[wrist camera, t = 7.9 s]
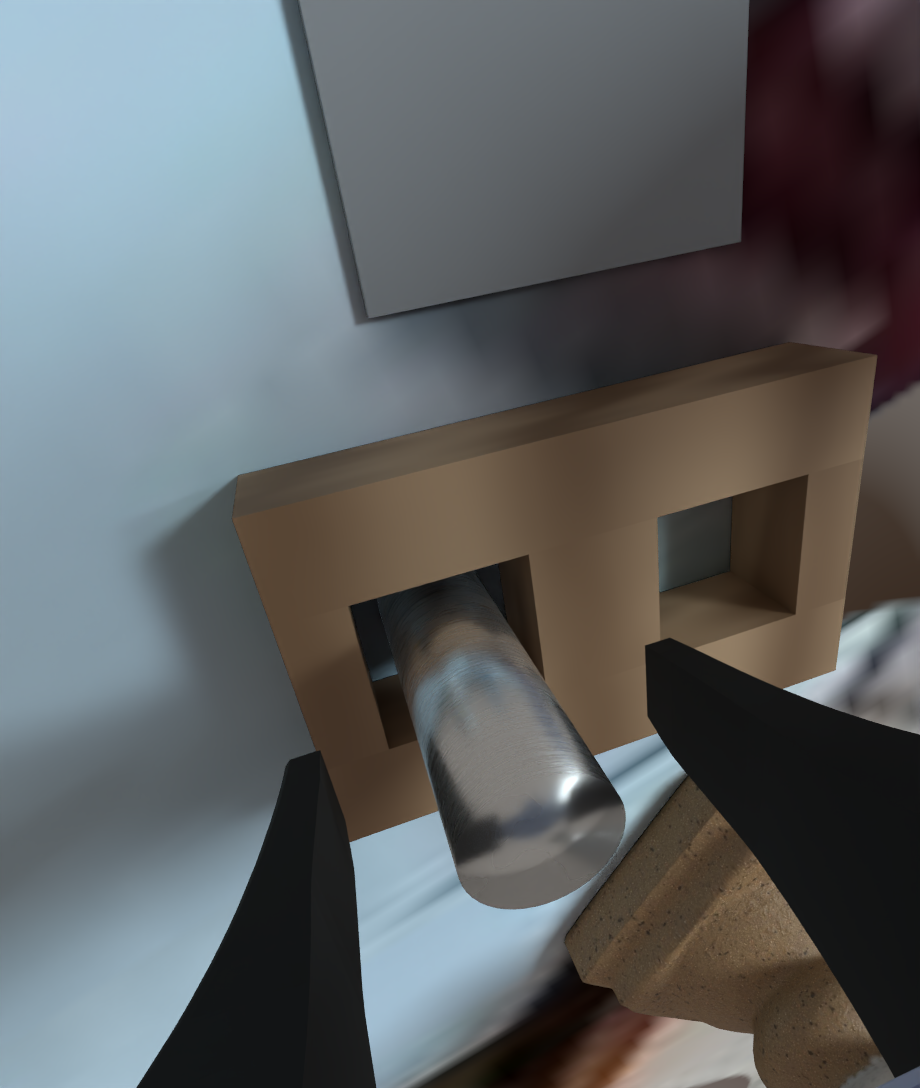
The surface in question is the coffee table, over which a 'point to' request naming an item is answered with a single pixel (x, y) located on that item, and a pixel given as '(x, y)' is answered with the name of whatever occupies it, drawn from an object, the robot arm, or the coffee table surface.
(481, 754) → the peg
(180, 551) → the coffee table surface
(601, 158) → the mat
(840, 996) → the candle holder
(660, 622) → the block
